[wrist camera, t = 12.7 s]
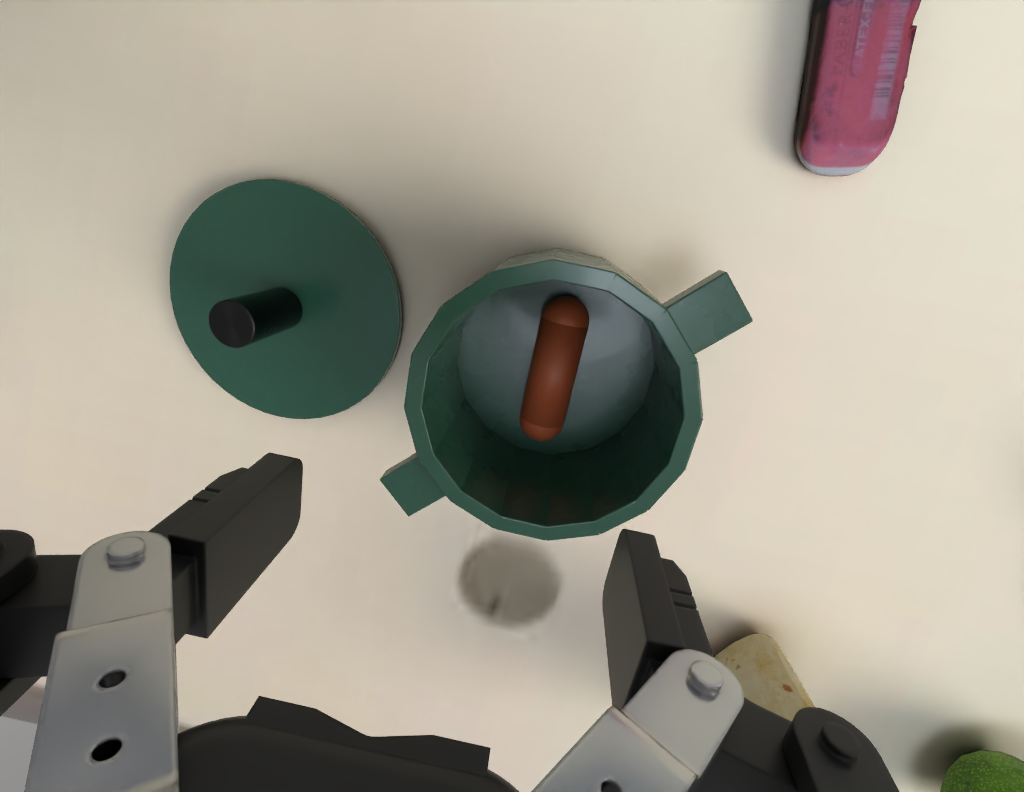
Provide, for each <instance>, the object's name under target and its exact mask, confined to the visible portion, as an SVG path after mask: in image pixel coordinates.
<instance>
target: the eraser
mask: <svg viewBox="0 0 1024 792" xmlns="http://www.w3.org/2000/svg"><path fill="white" fill-rule="evenodd" d="M920 2H921V0H814V2H813V9H812V16H811V25H810V33H809V42H808V49H807V55H806V62H805V68H804V74H803V81H802V87H801V94H800V100H799V107H798V114H797V120H796V127H795V134H794V144H795V149H796V153H797V156H798V157H799V159H800V160H801V162H802V163H803V164H804V166H805V167H806V168H807V169H809V170H810V171H812V172H814V173H816V174H819V175H824V176H846V175H851V174H854V173H857V172H859V171H861V170H863V169H864V168H866V167H867V166H868V165H869V164H870V163H872V162H873V161H874V160H875V159H876V158H877V157H878V155H879V154H880V153H881V152H882V151H883V149H884V148H885V146H886V144H887V143H888V141H889V138H890V136H891V134H892V131H893V128H894V125H895V122H896V118H897V114H898V109H899V104H900V99H901V95H902V92H903V89H904V81H905V78H906V77H907V71H908V65H909V59H910V54H911V49H912V45H913V41H914V36H915V32H916V28H917V26H912V24H913V20H914V17H915V15H916V12H917V10H918V8H919V5H920Z"/></svg>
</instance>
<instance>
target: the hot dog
mask: <svg viewBox="0 0 1024 792" xmlns="http://www.w3.org/2000/svg"><path fill="white" fill-rule="evenodd" d="M588 327H589V313H588V311H587V308H586V307H585V305H584V304H583V303H582V302H581V301H580V300H578V299H576V298H574V297H571V296H561V297H557V298H555V299H553V300H552V301H550V302H549V303H548V304H547V305H546V306H545V308H544V310H543V312H542V316H541V320H540V325H539V329H538V334H537V338H536V343H535V347H534V352H533V356H532V361H531V366H530V370H529V375H528V379H527V384H526V388H525V393H524V397H523V402H522V406H521V411H520V425H521V428H522V429H523V431H524V432H525V434H526V435H527V436H529V437H530V438H532V439H534V440H538V441H547V440H550V439H552V438H554V437H556V436H557V435H558V434H559V433H560V431H561V430H562V428H563V425H564V422H565V418H566V414H567V410H568V406H569V402H570V398H571V394H572V390H573V386H574V382H575V378H576V374H577V371H578V367H579V363H580V359H581V355H582V351H583V347H584V343H585V339H586V335H587V331H588Z"/></svg>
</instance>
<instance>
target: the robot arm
mask: <svg viewBox="0 0 1024 792" xmlns="http://www.w3.org/2000/svg"><path fill="white" fill-rule="evenodd" d="M302 474H303V465H302V461H301V460H300V459H297V458H293V457H288V456H283V455H278V454H274V453H268V454H266V455H265V456H263V457H262V458H261V459H260V460H259V461H257V462H256V463H255V464H254V465H252V466H251V467H250V468H249V469H246V468H240V469H237V470H234V471H232V472H229V473H227V474H224V475H222V476H220V477H219V478H217V479H216V480H215V481H213V482H212V483H211V484H209V485H208V486H207V487H206V488H205V490H202V491H200V492H199V493H198V494H196V495H195V496H194V497H193V499H192V500H189V501H187V502H186V503H185V504H183V505H182V506H181V507H180V508H178V509H177V510H176V511H174V512H173V513H172V514H170V515H169V516H168V517H167V518H165V519H164V520H163V521H161V522H160V523H159V524H157V525H156V526H155V527H154V528H152V529H151V530H150V531H132V532H125V533H120V534H116V535H112V536H110V537H107V538H104V539H102V540H100V541H98V542H96V543H95V544H93V545H91V546H90V547H89V548H87V549H86V550H85V551H84V552H83V554H82V555H36V551H35V545H34V540H33V538H32V537H31V536H30V535H29V534H27V533H24V532H21V531H17V530H0V716H1V715H2V714H3V713H4V712H5V711H6V710H7V709H8V708H9V707H10V706H11V705H12V704H13V703H15V702H16V701H17V700H18V699H19V698H20V697H21V696H22V695H23V694H24V693H25V692H26V691H27V690H28V689H29V688H30V687H31V686H32V685H33V684H34V683H35V682H36V681H37V680H38V679H39V678H40V677H43V676H47V680H46V685H45V690H44V695H43V700H42V705H41V710H40V715H39V720H38V725H37V731H36V736H35V740H34V745H33V750H32V755H31V760H30V765H29V770H28V776H27V781H26V785H25V791H24V792H519V791H518V790H517V789H516V788H514V787H513V786H512V785H511V784H510V783H509V782H507V781H506V780H504V779H503V778H502V777H500V776H499V775H497V774H496V773H494V772H492V771H490V770H488V761H489V754H490V748H488V747H484V746H479V745H475V744H471V743H466V742H462V741H457V740H453V739H448V738H444V737H439V736H435V735H420V736H387V737H370V736H366V735H364V734H362V733H360V732H358V731H356V730H354V729H353V728H351V727H349V726H347V725H345V724H343V723H341V722H339V721H338V720H336V719H334V718H332V717H330V716H328V715H326V714H325V713H323V712H321V711H319V710H317V709H315V708H310V707H306V706H302V705H297V704H293V703H288V702H284V701H279V700H275V699H270V698H266V697H262V696H259V697H258V699H257V700H256V702H255V704H254V705H253V707H252V708H251V710H250V711H249V713H248V715H247V716H238V717H231V718H224V719H219V720H215V721H211V722H207V723H204V724H201V725H198V726H196V727H193V728H190V729H188V730H185V731H183V732H181V733H179V720H178V694H177V668H176V644H177V642H178V641H179V640H180V639H181V638H182V637H183V636H184V635H185V634H189V635H194V636H198V637H203V638H208V637H209V636H210V635H211V633H212V632H213V631H214V630H215V629H216V627H217V626H218V625H219V624H220V623H221V621H222V620H223V619H224V618H225V617H226V615H227V614H228V613H229V612H230V611H231V609H232V608H233V607H234V606H235V605H236V603H237V602H238V601H239V600H240V599H241V597H242V596H243V595H244V594H245V593H246V592H247V590H248V589H249V588H250V587H251V586H252V584H253V583H254V582H255V581H256V580H257V578H258V577H259V576H260V575H261V574H262V572H263V571H264V570H265V569H266V568H267V566H268V565H269V564H270V563H271V562H272V560H273V559H274V558H275V557H276V556H277V554H278V553H279V552H280V551H281V550H282V548H283V547H284V546H285V545H286V544H287V542H288V541H289V540H290V539H291V537H292V536H293V534H294V532H295V530H296V528H297V525H298V522H299V518H300V511H301V492H302ZM603 615H604V625H605V636H606V646H607V656H608V666H609V676H610V686H611V696H612V706H611V707H610V708H609V709H608V710H607V711H606V712H605V713H604V714H603V715H602V716H601V717H600V718H599V719H598V720H597V721H596V722H595V723H594V724H593V726H592V727H591V728H590V729H589V730H588V731H587V732H586V733H585V734H584V735H583V736H582V737H581V739H580V740H579V741H578V742H577V743H576V744H575V745H574V746H573V747H572V748H571V749H570V750H569V752H568V753H567V754H566V755H565V756H564V757H563V758H562V759H561V760H560V761H559V762H558V763H557V765H556V766H555V767H554V768H553V769H552V770H551V771H550V772H549V773H548V774H547V775H546V776H545V778H544V779H543V780H542V781H541V782H540V783H539V784H538V785H537V786H536V787H535V788H534V789H533V791H532V792H899V790H898V788H897V786H896V784H895V783H894V781H893V779H892V777H891V775H890V773H889V771H888V769H887V767H886V765H885V764H884V762H883V760H882V758H881V756H880V754H879V753H878V751H877V749H876V748H875V747H874V745H873V744H872V743H871V742H870V741H869V739H868V738H867V737H866V736H865V735H864V734H863V733H862V732H861V731H860V730H858V729H857V728H856V727H855V726H853V725H852V724H851V723H849V722H848V721H846V720H845V719H844V718H842V717H840V716H838V715H836V714H834V713H832V712H830V711H827V710H824V709H821V708H816V707H806V708H802V709H800V710H799V711H798V712H796V714H795V716H794V718H793V720H792V721H790V720H787V719H785V718H783V717H781V716H779V715H777V714H775V713H773V712H771V711H769V710H767V709H765V708H763V707H761V706H759V705H757V704H755V703H753V702H751V701H750V700H748V699H747V698H745V697H744V693H743V690H742V687H741V685H740V683H739V681H738V680H737V678H736V677H735V675H734V674H733V673H732V672H731V671H730V670H729V669H728V668H727V667H726V666H725V665H724V664H722V663H721V662H720V661H718V660H717V659H715V658H714V657H713V654H712V651H711V648H710V645H709V642H708V639H707V636H706V633H705V630H704V627H703V624H702V621H701V619H700V616H699V613H698V610H696V604H695V601H694V598H693V596H692V592H691V589H690V586H689V583H688V580H687V577H686V576H685V574H684V573H683V572H682V571H681V570H680V568H679V567H678V566H677V565H676V564H675V562H674V561H673V560H668V559H663V558H661V557H660V553H659V550H658V546H657V543H656V539H655V537H654V535H651V534H646V533H641V532H637V531H632V530H627V529H623V530H622V531H621V533H620V535H619V538H618V541H617V544H616V548H615V551H614V554H613V558H612V561H611V564H610V567H609V571H608V574H607V577H606V581H605V585H604V591H603Z"/></svg>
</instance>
